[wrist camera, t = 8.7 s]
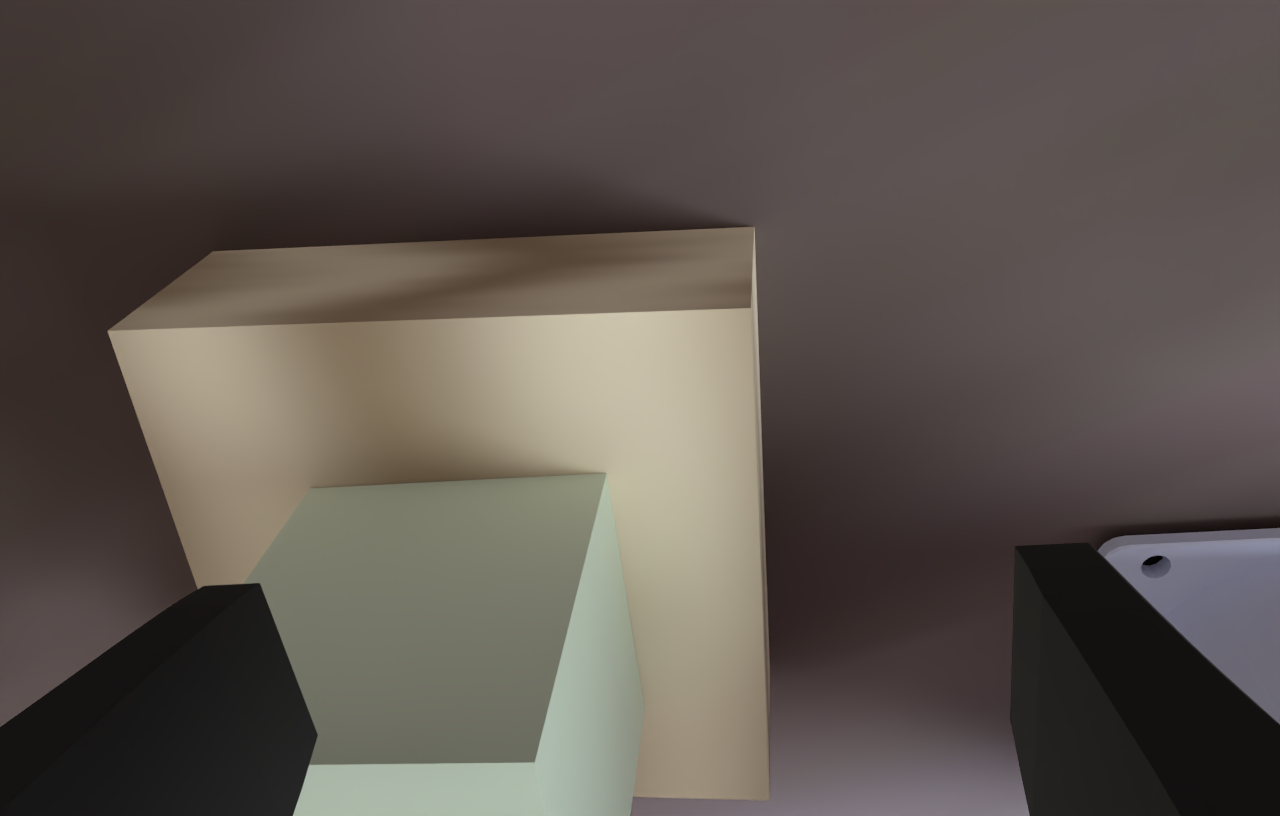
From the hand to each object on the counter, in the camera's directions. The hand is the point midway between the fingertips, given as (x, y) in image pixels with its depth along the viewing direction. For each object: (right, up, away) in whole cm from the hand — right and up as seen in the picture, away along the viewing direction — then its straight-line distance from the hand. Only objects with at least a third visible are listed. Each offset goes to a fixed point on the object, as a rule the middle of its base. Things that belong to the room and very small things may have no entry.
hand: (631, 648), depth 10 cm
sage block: (-3, -1, +8) cm, 9 cm away
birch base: (-2, +1, +12) cm, 12 cm away
